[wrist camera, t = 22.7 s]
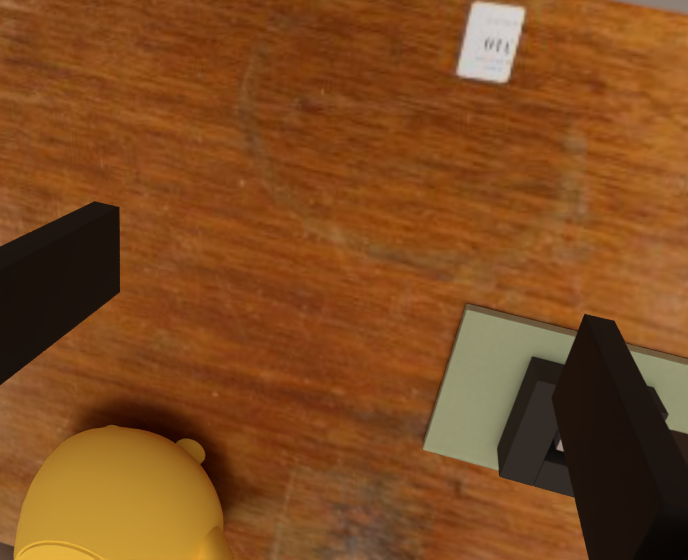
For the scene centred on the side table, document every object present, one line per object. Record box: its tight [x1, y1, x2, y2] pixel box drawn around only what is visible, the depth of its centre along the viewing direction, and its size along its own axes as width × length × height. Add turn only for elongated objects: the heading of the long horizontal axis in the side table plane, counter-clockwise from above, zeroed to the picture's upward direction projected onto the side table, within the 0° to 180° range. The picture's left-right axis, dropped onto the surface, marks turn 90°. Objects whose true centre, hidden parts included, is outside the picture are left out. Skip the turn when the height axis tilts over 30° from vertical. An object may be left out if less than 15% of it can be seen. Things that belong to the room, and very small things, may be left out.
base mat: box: [423, 304, 688, 471], centre depth 39 cm, size 12×18×4 cm, turn 79°
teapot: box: [14, 425, 235, 560], centre depth 44 cm, size 20×16×14 cm
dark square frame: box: [497, 356, 669, 497], centre depth 38 cm, size 8×8×3 cm
